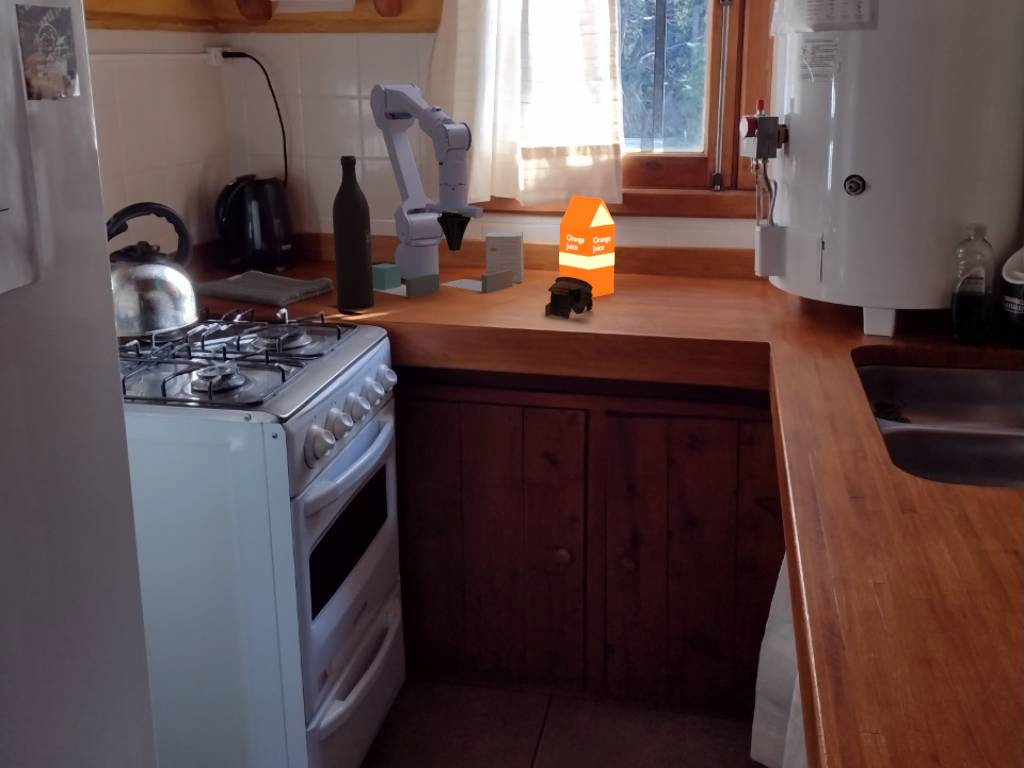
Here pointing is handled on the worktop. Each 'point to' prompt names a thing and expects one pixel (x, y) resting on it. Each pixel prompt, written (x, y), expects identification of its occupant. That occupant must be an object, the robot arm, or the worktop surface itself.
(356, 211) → the wine bottle
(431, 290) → the grey piece
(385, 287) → the teal block
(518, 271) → the small box
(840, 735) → the worktop surface
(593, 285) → the orange juice
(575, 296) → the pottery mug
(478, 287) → the grey l-shaped block
